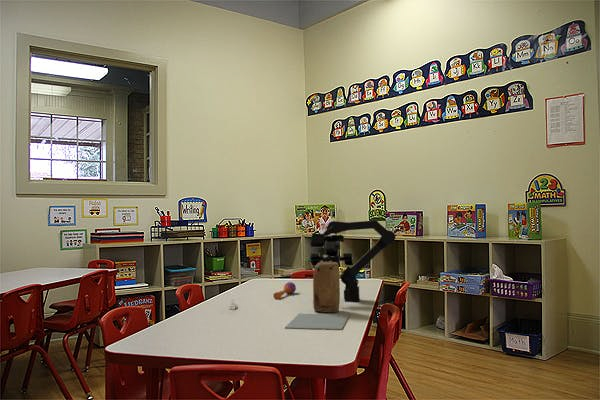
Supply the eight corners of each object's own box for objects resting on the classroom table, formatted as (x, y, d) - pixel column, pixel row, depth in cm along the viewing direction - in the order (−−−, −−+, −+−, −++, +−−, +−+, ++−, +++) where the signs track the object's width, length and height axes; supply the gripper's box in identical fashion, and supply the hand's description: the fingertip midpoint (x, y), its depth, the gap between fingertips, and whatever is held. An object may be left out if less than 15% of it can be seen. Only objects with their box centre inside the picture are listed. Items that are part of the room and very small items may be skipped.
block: (341, 310, 202) (340, 261, 203) (338, 313, 195) (336, 263, 196) (315, 309, 205) (314, 261, 206) (311, 313, 198) (310, 263, 198)
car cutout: (227, 307, 215) (227, 297, 215) (242, 308, 214) (242, 297, 214) (216, 315, 200) (216, 303, 201) (232, 315, 199) (232, 304, 199)
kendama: (269, 290, 233) (285, 281, 252) (272, 303, 233) (288, 293, 252) (280, 288, 231) (296, 280, 250) (283, 301, 231) (298, 291, 250)
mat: (349, 315, 191) (349, 314, 191) (341, 329, 168) (341, 328, 168) (298, 314, 195) (298, 313, 195) (284, 328, 172) (284, 327, 172)
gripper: (310, 235, 220) (306, 262, 209) (351, 234, 217) (349, 262, 205) (313, 251, 228) (309, 278, 217) (354, 251, 224) (352, 278, 213)
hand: (330, 274), depth 213 cm, fingers closed
